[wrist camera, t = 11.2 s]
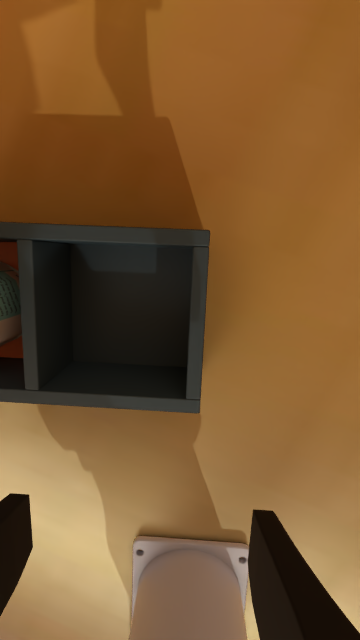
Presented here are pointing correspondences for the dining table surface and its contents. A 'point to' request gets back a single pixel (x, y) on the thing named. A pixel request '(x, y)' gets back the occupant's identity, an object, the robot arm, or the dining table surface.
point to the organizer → (106, 316)
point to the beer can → (9, 304)
